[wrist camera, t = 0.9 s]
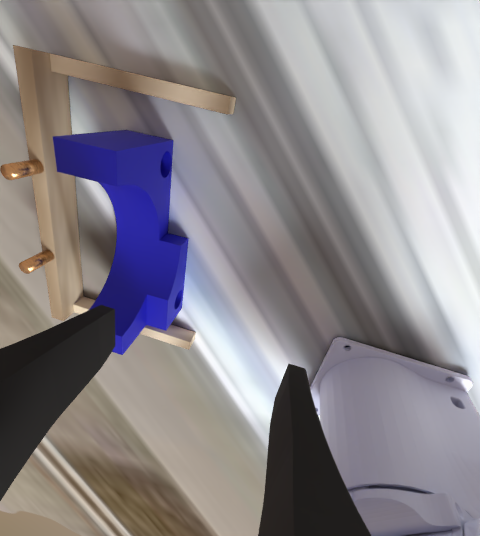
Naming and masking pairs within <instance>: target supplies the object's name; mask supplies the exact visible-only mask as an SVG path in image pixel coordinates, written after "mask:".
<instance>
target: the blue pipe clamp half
mask: <svg viewBox="0 0 480 536" xmlns="http://www.w3.org/2000/svg"><path fill="white" fill-rule="evenodd" d="M53 143H54V151H55V159H56V167H57V172H60V173H64V174H68V175H72V176H76V177H81V178H85V179H89V180H93V181H97V182H99V183H100V184H101V185H102V187H103V188H104V189H105V191H106V192H107V194H108V195H109V198H110V200H111V202H112V205H113V208H114V212H115V216H116V224H117V241H116V250H115V255H114V260H113V263H112V267H111V270H110V273H109V276H108V278H107V281H106V283H105V285H104V287H103V289H102V291H101V293H100V294H99V296H98V298H97V299H96V301H95V302H94V304H93V305H92V306H91V308H90V309H93V308H95V307H97V306H99V305H104V306H107V307H110V308H113V309H115V347H114V349H113V350H112V352H115V353H118V354H121V355H123V354H124V352H125V351H126V350H127V349H128V347H129V346H130V345H131V344H132V342H133V341H134V340H135V339H136V337H137V336H138V335H139V333H140V332H141V331H142V330H143V328H144V327H145V326H146V325H148V326H152V327H155V328H158V329H162V330H165V331H166V330H167V329H168V327H169V326H170V324H171V323H172V322H173V320H174V319H175V317H176V316H177V314H178V313H179V311H180V310H181V308H182V301H183V290H184V280H185V269H186V259H187V248H188V238H185V237H181V236H177V235H173V234H170V233H168V223H169V206H170V188H171V171H172V154H173V140H170V139H165V138H161V137H156V136H152V135H147V134H143V133H138V132H134V131H129V130H120V131H109V132H97V133H86V134H75V135H64V136H53ZM90 309H89V310H90Z"/></svg>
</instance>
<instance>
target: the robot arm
mask: <svg viewBox="0 0 480 536" xmlns="http://www.w3.org/2000/svg"><path fill="white" fill-rule="evenodd" d="M346 345H349V346H350V347H344V346H346ZM114 347H115V309H113V308H110V307H107V306H104V305H99V306H97V307H95V308H93V309H90V310H88V311H86V312H84V313H82V314H80V315H78V316H76V317H74V318H71V319H69V320H67V321H65V322H63V323H61V324H59V325H56V326H54V327H52V328H50V329H48V330H45V331H43V332H41V333H38V334H36V335H34V336H31V337H29V338H26V339H24V340H22V341H19V342H17V343H14V344H12V345H9V346H7V347H4V348H1V349H0V501H1V499H2V498H3V496H4V495H5V493H6V492H7V490H8V488H9V487H10V485H11V484H12V482H13V481H14V479H15V478H16V476H17V475H18V473H19V472H20V470H21V469H22V467H23V466H24V465H25V463H26V462H27V460H28V459H29V457H30V456H31V454H32V453H33V451H34V450H35V449H36V447H37V446H38V444H39V443H40V442H41V440H42V439H43V437H44V436H45V435H46V433H47V432H48V430H49V429H50V428H51V426H52V425H53V424H54V423H55V421H56V420H57V419H58V418H59V416H60V415H61V414H62V413H63V412H64V411H65V409H66V408H67V407H68V406H69V405H70V404H71V402H72V401H73V400H74V399H75V398H76V397H77V395H78V394H79V393H80V392H81V391H82V390H83V388H84V387H85V386H86V385H87V384H88V383H89V381H90V380H91V379H92V378H93V377H94V376H95V374H96V373H97V372H98V371H99V370H100V368H101V367H102V366H103V364H104V363H105V361H106V360H107V358H108V357H109V355H110V354H111V352H112V350H113V349H114ZM447 377H450V378H447ZM472 386H473V381H472V380H471V378H470V377H469V376H466V375H463V374H460V373H457V372H453V371H450V370H447V369H444V368H440V367H437V366H434V365H431V364H427V363H424V362H421V361H418V360H414V359H411V358H408V357H405V356H401V355H398V354H395V353H391V352H388V351H385V350H382V349H378V348H375V347H372V346H369V345H365V344H362V343H359V342H356V341H352V340H349V339H346V338H343V337H337V338H335V339H334V340H333V342H332V344H331V346H330V348H329V350H328V352H327V354H326V356H325V358H324V360H323V362H322V364H321V366H320V368H319V370H318V372H317V374H316V376H315V379H314V381H313V383H312V385H311V387H310V386H309V382H308V378H307V373H306V370H305V369H304V368H301V367H298V366H294V365H291V364H288V367H287V369H286V372H285V374H284V377H283V379H282V382H281V385H280V387H279V390H278V392H277V395H276V397H275V401H274V407H273V412H272V418H271V423H270V433H269V445H268V458H267V471H266V484H265V494H264V503H263V510H262V516H261V522H260V528H259V534H258V536H480V415H479V413H478V412H477V410H476V408H475V406H474V404H473V402H472V401H471V399H470V397H469V395H468V393H467V392H468V391H469V389H470V388H471V387H472ZM318 415H320V420H319V417H318Z"/></svg>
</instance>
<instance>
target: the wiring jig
mask: <svg viewBox="0 0 480 536" xmlns="http://www.w3.org/2000/svg"><path fill="white" fill-rule="evenodd" d="M13 48H14V55H15V62H16V69H17V76H18V83H19V90H20V97H21V104H22V111H23V118H24V125H25V132H26V139H27V146H28V153H29V160H28V161H22V162H16V163H10V164H4V165H2V166H1V173H2V175H3V176H4V177H5V178H6V179H8V180H13V179H18V178H22V177H27V176H31V175H32V181H33V188H34V195H35V202H36V209H37V216H38V223H39V230H40V237H41V244H42V252H40V253H38V254H37V255H35V256H33V257H31V258H29V259H27V260H25V261H23V262H21V263H20V264H19V267H20V269H21V271H23V272H24V273H26V274H28V273H30V272H32V271H34V270H36V269H38V268H39V267H41V266H43V265H45V272H46V279H47V286H48V293H49V300H50V307H51V314H52V317H53V318H56V319H59V320H62V321H64V320H65V319H67V318H68V317H69V316H70V315H71V314H73V313H74V312H75V313H78V314H82V313H84V312H86V311H88V310H89V309H90V308H91V306H92V305H93V304H94V302H95V301H96V300H93V299H90V298H87V297H83V283H82V269H81V255H80V241H79V228H78V214H77V200H76V186H75V176H72V175H68V174H64V173H60V172H57V167H56V159H55V151H54V143H53V136H64V135H72V130H71V116H70V102H69V88H68V76H73V77H77V78H81V79H85V80H89V81H93V82H97V83H101V84H105V85H109V86H113V87H118V88H122V89H126V90H130V91H134V92H138V93H142V94H146V95H150V96H154V97H158V98H162V99H167V100H171V101H175V102H179V103H183V104H187V105H191V106H195V107H199V108H203V109H207V110H211V111H216V112H220V113H224V114H233V113H234V107H235V101H236V98H235V97H231V96H227V95H223V94H218V93H214V92H210V91H206V90H202V89H197V88H193V87H189V86H185V85H181V84H176V83H172V82H168V81H164V80H160V79H155V78H151V77H147V76H143V75H139V74H134V73H130V72H126V71H122V70H118V69H114V68H109V67H105V66H101V65H97V64H93V63H88V62H84V61H80V60H76V59H72V58H67V57H63V56H59V55H55V54H51V53H46V52H42V51H37V50H33V49H28V48H24V47H20V46H15V45H13ZM195 333H196V332H193V331H190V330H187V329H183V328H180V327H177V326H174V325H171V324H170V326H169V327H168V329H167V330H166V331H165V330H162V329H158V328H155V327H152V326H148V325H146V326H145V327H144V328H143V330H142V331H141V332H140V333H139V334H143V335H146V336H149V337H152V338H155V339H158V340H161V341H164V342H167V343H170V344H173V345H176V346H179V347H182V348H185V349H188V350H189V349H190V347H191V345H192V343H193V341H194V339H195Z"/></svg>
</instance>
